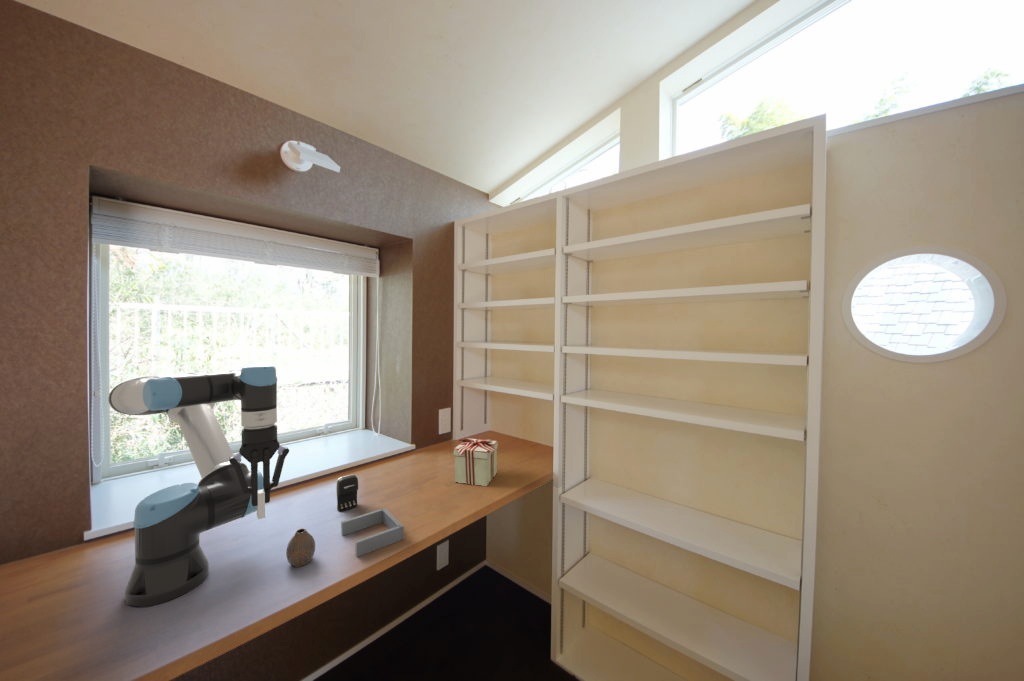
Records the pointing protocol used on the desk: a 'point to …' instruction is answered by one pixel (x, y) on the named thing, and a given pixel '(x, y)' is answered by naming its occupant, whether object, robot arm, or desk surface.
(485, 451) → the gift box
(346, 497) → the battery charger
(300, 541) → the vase
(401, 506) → the desk surface
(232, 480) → the robot arm
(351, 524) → the box
